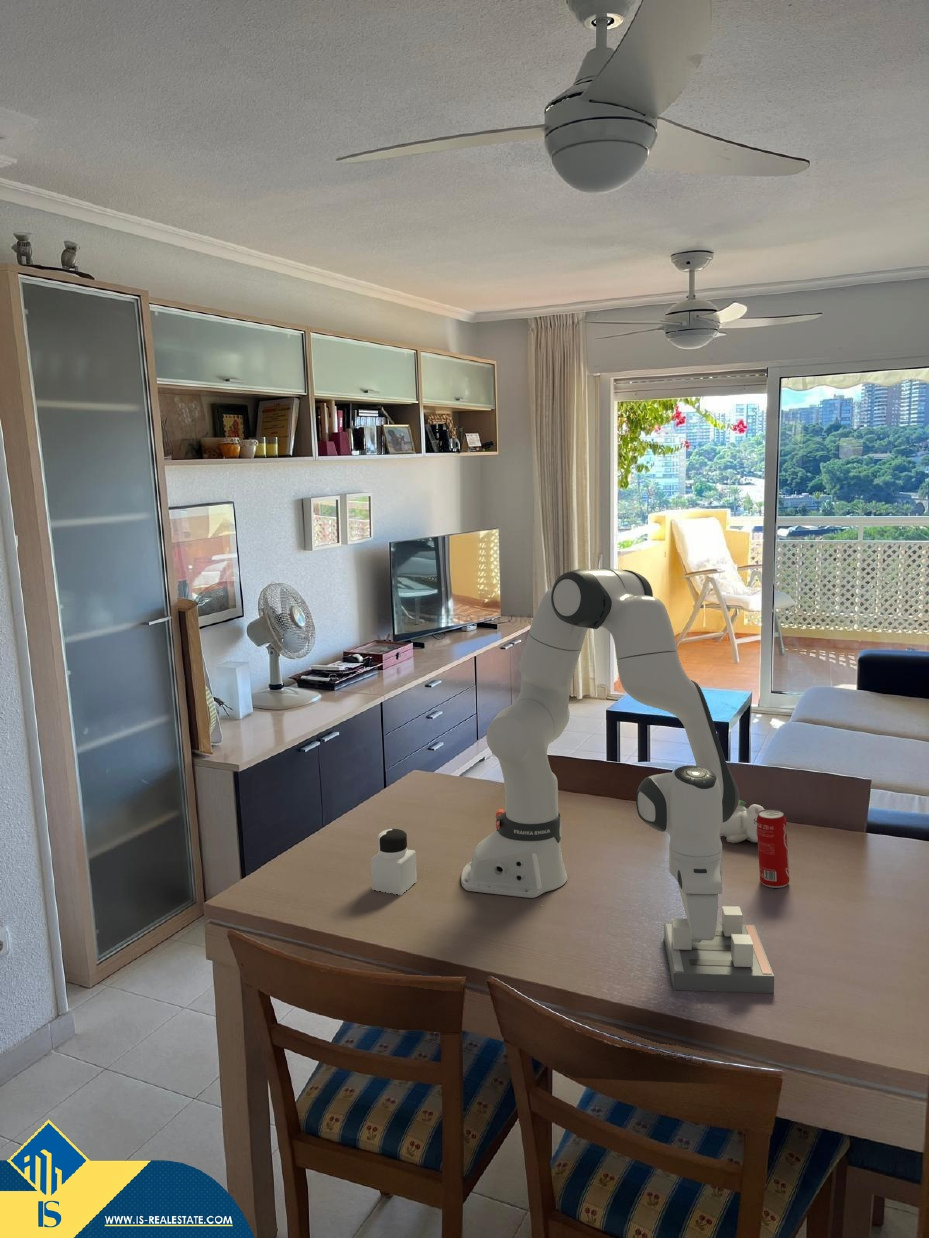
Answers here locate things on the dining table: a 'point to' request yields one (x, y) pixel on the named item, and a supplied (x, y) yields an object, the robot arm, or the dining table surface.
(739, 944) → the front handle
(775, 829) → the beverage can
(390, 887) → the medicine bottle
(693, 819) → the robot arm
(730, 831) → the cat figurine
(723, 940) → the grey slider board
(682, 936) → the beige square block
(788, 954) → the dining table surface
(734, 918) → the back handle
